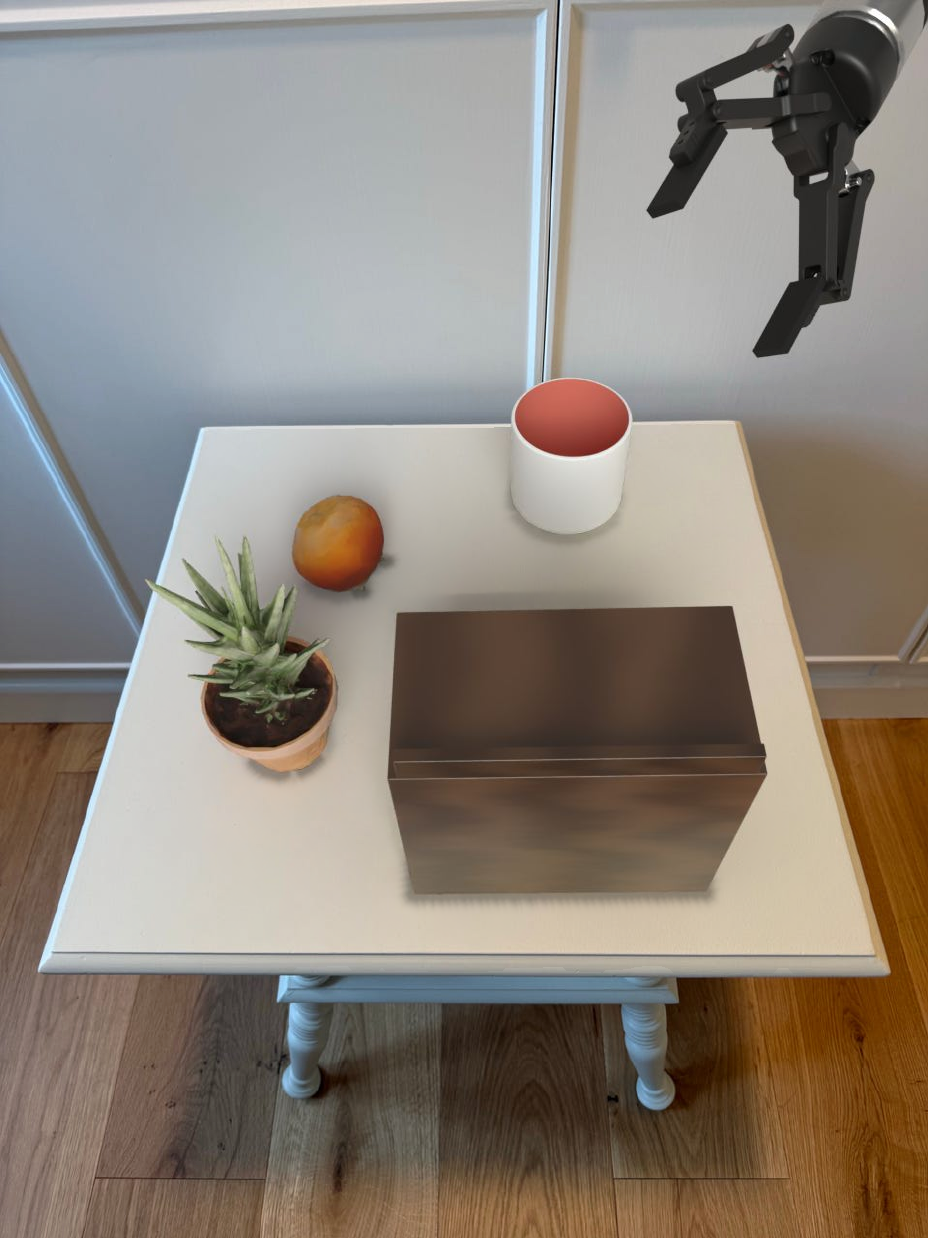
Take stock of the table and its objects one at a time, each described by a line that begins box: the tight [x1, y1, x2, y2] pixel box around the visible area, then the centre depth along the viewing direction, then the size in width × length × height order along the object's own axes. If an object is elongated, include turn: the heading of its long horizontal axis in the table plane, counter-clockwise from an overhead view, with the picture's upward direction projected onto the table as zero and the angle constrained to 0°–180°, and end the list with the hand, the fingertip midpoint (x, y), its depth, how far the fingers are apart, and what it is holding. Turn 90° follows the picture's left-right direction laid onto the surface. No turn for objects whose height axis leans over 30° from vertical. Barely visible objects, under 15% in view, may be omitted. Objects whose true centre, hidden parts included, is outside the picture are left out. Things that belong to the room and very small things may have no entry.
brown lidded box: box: [386, 605, 768, 895], centre depth 58 cm, size 20×11×20 cm, turn 90°
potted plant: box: [144, 533, 339, 773], centre depth 61 cm, size 10×10×25 cm
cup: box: [510, 377, 634, 535], centre depth 80 cm, size 10×10×10 cm
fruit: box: [291, 494, 389, 593], centre depth 78 cm, size 8×8×8 cm
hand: (719, 285), depth 63 cm, fingers open, 13 cm apart
